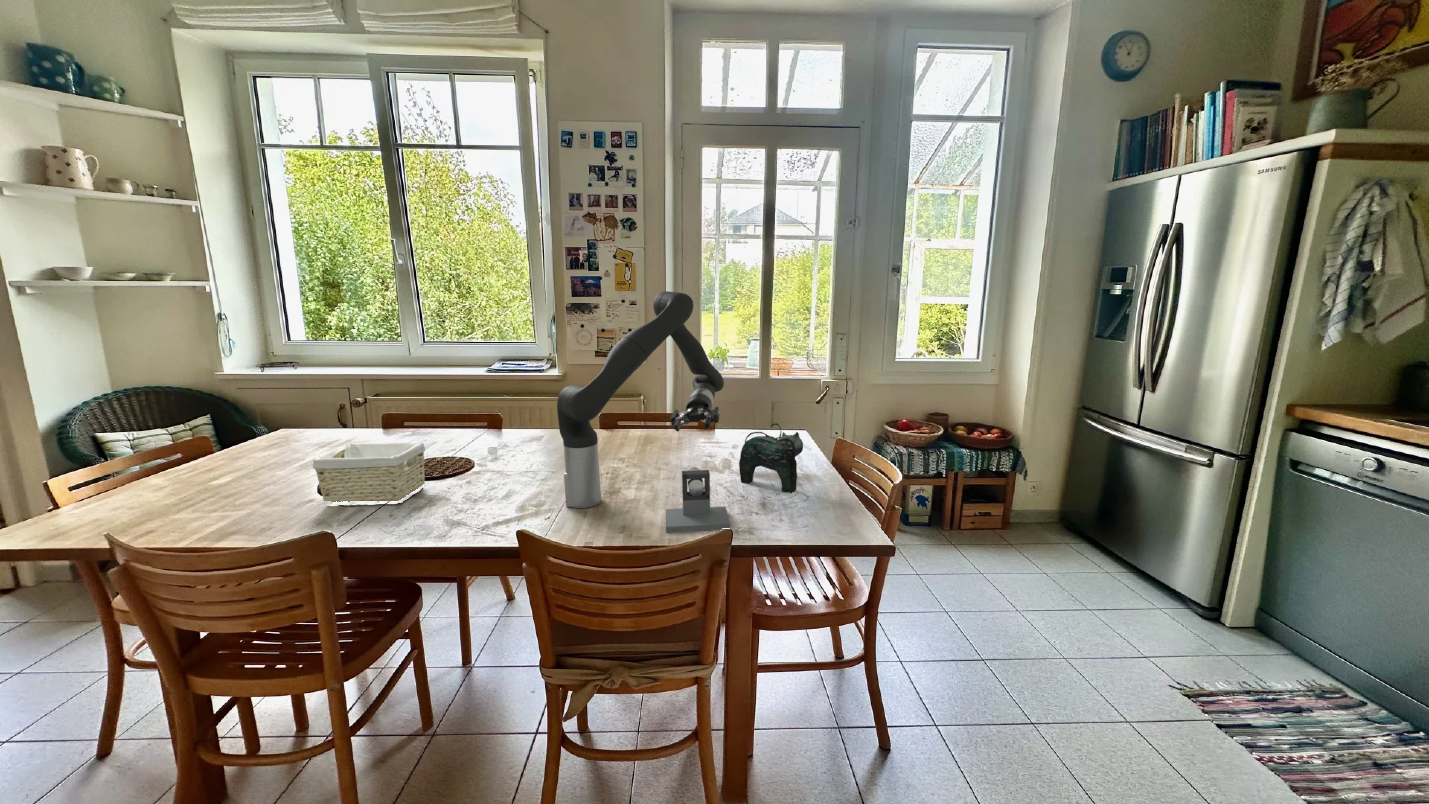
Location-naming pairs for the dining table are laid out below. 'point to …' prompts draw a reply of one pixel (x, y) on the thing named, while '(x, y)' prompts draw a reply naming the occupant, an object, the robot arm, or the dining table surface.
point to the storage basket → (370, 471)
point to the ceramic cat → (771, 457)
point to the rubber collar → (696, 475)
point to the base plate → (696, 517)
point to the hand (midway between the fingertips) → (691, 427)
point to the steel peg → (695, 484)
